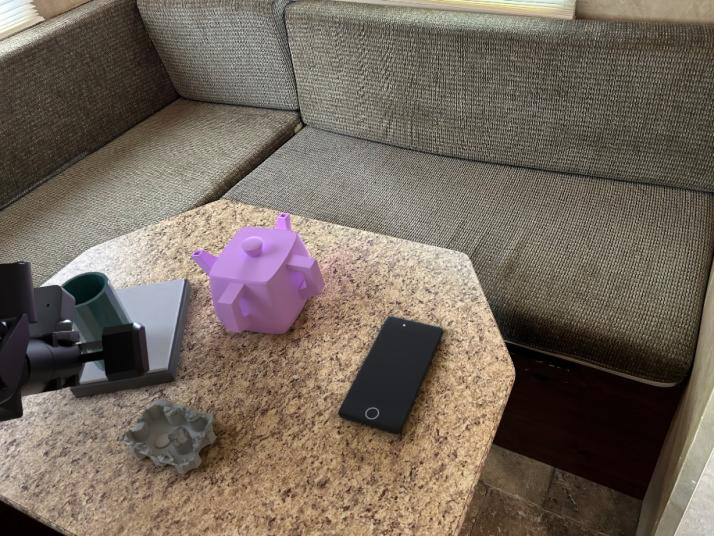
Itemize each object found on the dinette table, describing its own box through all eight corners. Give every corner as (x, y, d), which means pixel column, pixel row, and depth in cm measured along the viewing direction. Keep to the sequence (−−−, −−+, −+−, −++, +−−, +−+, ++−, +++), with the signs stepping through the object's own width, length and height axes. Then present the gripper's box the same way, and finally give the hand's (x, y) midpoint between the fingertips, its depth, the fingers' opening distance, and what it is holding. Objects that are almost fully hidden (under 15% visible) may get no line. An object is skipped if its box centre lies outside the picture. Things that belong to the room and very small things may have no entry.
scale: (75, 398, 86) (67, 386, 84) (107, 300, 101) (101, 289, 99) (175, 381, 86) (169, 369, 85) (191, 287, 102) (187, 275, 100)
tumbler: (120, 377, 84) (81, 313, 76) (84, 364, 87) (42, 301, 79) (153, 341, 89) (119, 277, 81) (118, 330, 92) (82, 267, 83)
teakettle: (237, 359, 89) (213, 299, 81) (203, 292, 100) (180, 234, 92) (340, 309, 95) (328, 249, 87) (297, 251, 106) (282, 194, 98)
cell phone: (337, 417, 79) (336, 413, 79) (388, 319, 92) (388, 315, 91) (400, 436, 76) (400, 431, 76) (444, 332, 89) (444, 327, 88)
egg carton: (123, 456, 78) (110, 438, 75) (161, 409, 83) (150, 390, 80) (190, 482, 74) (179, 464, 72) (225, 430, 79) (216, 412, 77)
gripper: (111, 274, 63) (159, 283, 79) (-77, 303, 62) (10, 307, 77) (123, 381, 62) (169, 369, 77) (-70, 414, 60) (17, 395, 76)
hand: (92, 358), depth 77 cm, fingers open, 9 cm apart
